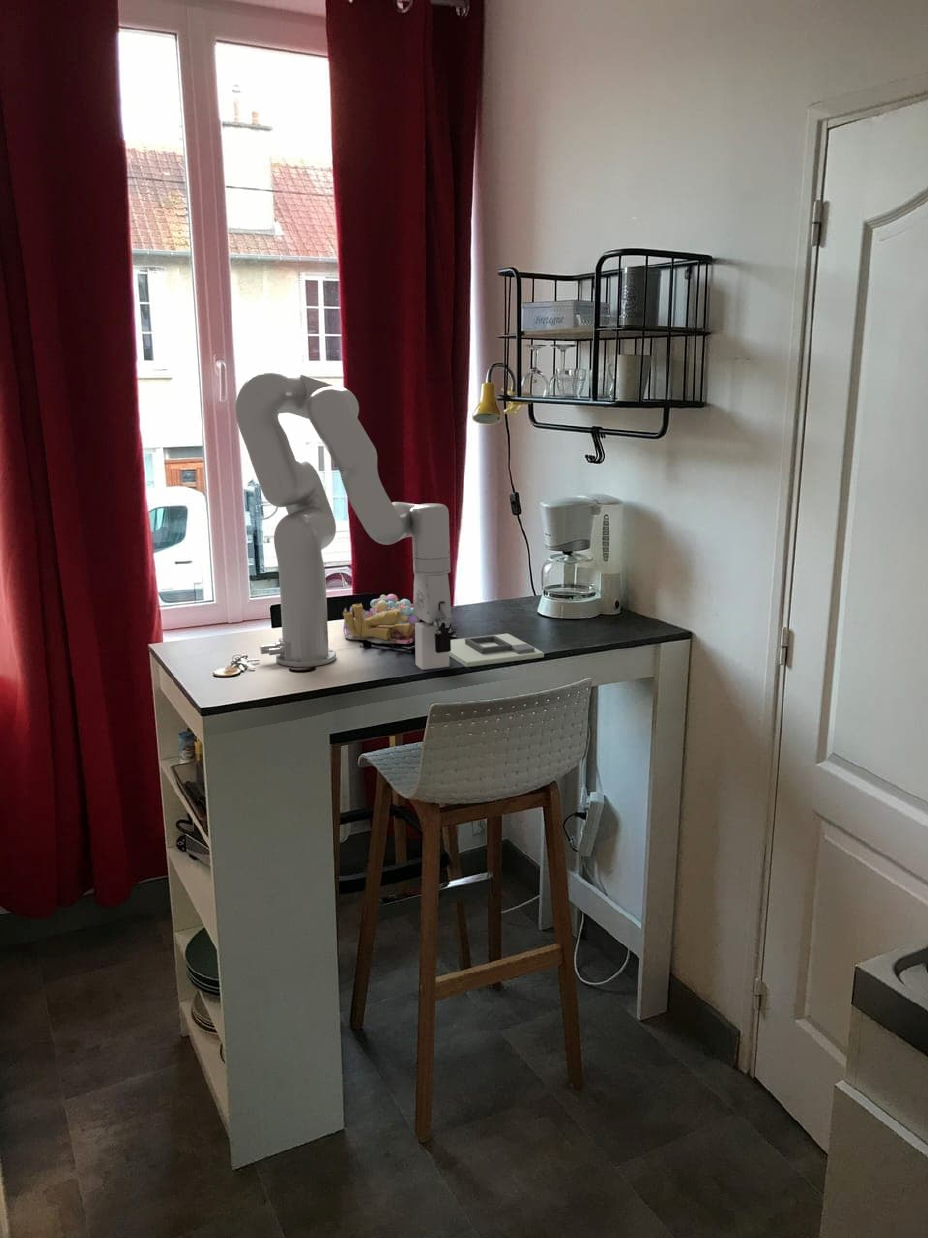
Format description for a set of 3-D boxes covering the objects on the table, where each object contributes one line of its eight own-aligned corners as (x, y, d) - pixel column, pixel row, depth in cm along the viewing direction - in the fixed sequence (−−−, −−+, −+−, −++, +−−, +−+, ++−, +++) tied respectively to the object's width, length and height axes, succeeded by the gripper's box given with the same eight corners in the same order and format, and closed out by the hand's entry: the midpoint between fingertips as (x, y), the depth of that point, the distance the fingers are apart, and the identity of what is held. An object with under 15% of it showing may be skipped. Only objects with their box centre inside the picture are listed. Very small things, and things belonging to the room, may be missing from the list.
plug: (422, 669, 200) (421, 617, 197) (415, 664, 203) (414, 613, 201) (449, 666, 202) (448, 614, 199) (442, 661, 205) (441, 610, 203)
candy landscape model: (427, 650, 215) (426, 609, 213) (328, 644, 221) (326, 604, 219) (457, 624, 238) (457, 587, 236) (367, 619, 244) (365, 583, 242)
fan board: (466, 667, 201) (466, 656, 201) (434, 646, 217) (434, 636, 217) (543, 657, 208) (544, 647, 207) (507, 637, 224) (507, 628, 224)
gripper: (400, 560, 204) (403, 639, 208) (429, 573, 188) (432, 658, 192) (433, 557, 207) (436, 635, 211) (465, 570, 191) (467, 654, 195)
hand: (434, 646), depth 201 cm, fingers open, 9 cm apart
